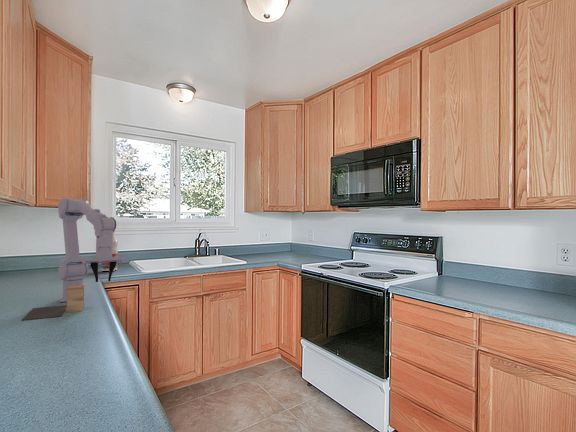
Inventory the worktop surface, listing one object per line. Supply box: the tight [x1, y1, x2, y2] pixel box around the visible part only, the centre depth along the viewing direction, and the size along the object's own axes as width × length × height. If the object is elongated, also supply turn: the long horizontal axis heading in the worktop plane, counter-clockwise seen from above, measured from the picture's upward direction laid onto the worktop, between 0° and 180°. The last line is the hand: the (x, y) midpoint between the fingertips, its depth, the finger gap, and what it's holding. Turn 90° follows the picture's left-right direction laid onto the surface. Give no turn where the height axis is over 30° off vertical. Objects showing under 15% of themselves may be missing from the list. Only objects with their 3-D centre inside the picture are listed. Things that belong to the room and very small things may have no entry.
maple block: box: [66, 284, 85, 313], centre depth 121 cm, size 5×5×9 cm
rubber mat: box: [21, 304, 67, 322], centre depth 117 cm, size 16×11×1 cm
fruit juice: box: [100, 229, 119, 272], centre depth 213 cm, size 9×9×28 cm
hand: (103, 281), depth 126 cm, fingers open, 4 cm apart
